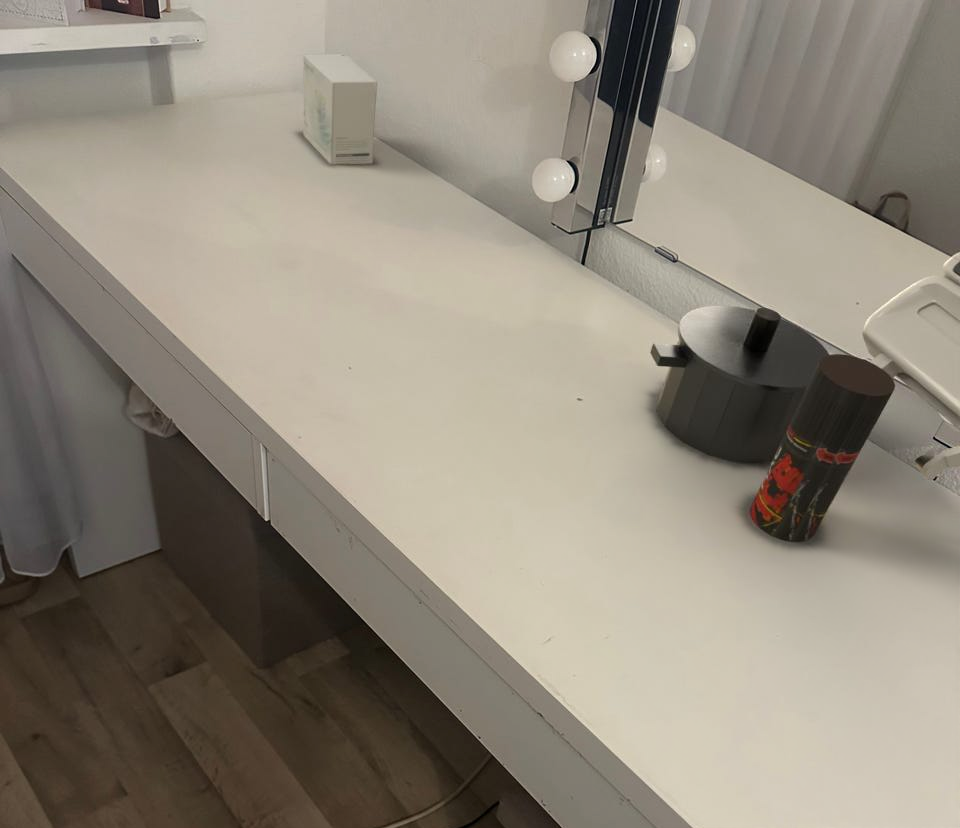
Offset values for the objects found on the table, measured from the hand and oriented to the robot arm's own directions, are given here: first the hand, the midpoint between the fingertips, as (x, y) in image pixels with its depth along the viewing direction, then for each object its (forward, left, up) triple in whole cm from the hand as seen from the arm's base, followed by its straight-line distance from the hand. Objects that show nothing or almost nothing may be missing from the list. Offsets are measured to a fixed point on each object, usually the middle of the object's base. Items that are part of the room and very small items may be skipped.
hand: (884, 437), depth 77 cm
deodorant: (+7, +2, -9) cm, 11 cm away
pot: (+7, -14, -9) cm, 17 cm away
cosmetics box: (+42, -76, -9) cm, 87 cm away
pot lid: (+7, -14, 0) cm, 15 cm away
